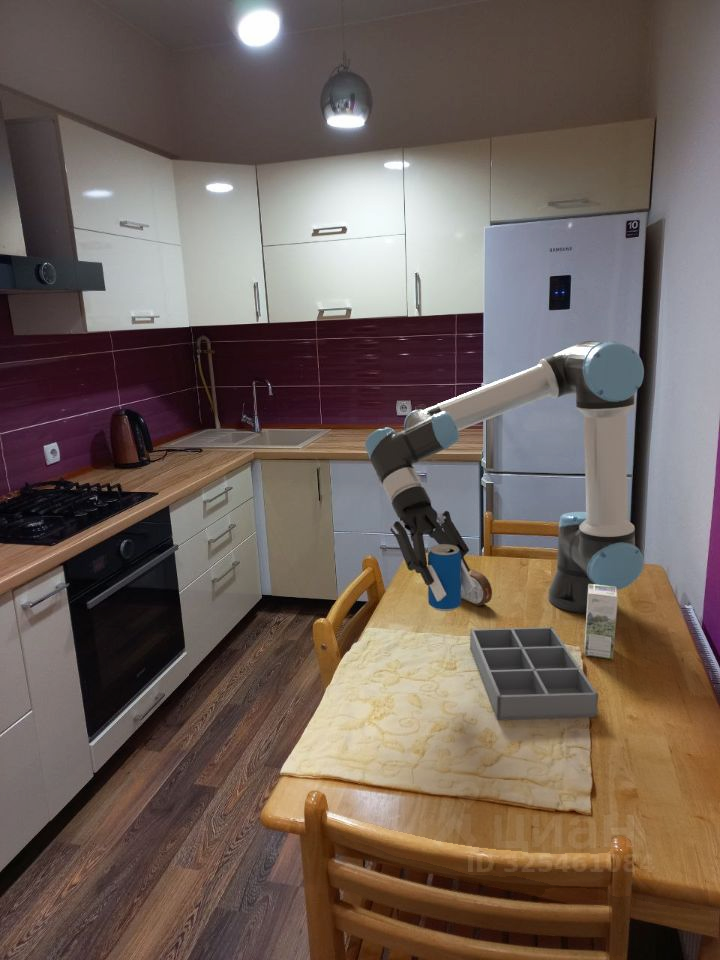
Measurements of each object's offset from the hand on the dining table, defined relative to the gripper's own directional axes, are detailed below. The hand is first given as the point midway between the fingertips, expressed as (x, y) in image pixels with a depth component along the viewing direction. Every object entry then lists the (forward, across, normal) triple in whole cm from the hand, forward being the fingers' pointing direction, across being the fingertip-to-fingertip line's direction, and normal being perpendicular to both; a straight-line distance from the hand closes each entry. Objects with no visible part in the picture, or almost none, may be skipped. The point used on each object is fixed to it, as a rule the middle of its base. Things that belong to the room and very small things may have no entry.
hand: (456, 593), depth 124 cm
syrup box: (+19, -32, -8) cm, 38 cm away
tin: (-7, -26, -34) cm, 44 cm away
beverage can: (0, 0, -6) cm, 6 cm away
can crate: (+18, -12, -8) cm, 23 cm away
